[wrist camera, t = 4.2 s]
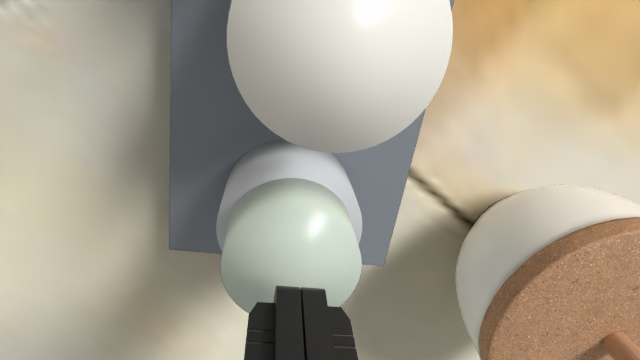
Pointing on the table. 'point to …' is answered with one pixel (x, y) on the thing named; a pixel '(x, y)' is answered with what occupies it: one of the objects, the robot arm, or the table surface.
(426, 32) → the knob mid
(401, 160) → the control board
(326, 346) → the robot arm
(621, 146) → the table surface
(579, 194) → the lidded jar
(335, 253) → the knob
